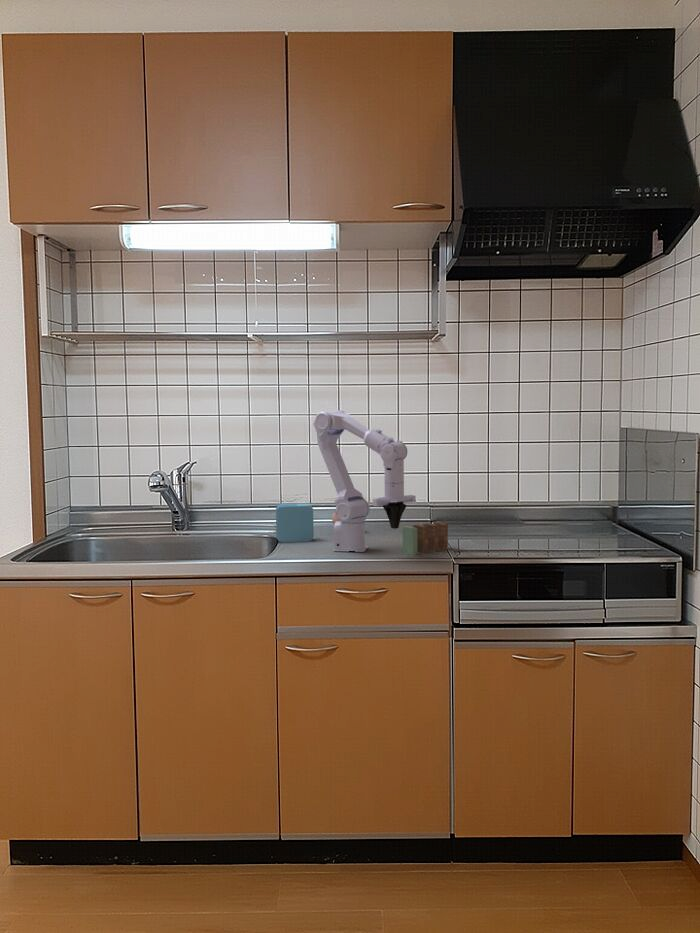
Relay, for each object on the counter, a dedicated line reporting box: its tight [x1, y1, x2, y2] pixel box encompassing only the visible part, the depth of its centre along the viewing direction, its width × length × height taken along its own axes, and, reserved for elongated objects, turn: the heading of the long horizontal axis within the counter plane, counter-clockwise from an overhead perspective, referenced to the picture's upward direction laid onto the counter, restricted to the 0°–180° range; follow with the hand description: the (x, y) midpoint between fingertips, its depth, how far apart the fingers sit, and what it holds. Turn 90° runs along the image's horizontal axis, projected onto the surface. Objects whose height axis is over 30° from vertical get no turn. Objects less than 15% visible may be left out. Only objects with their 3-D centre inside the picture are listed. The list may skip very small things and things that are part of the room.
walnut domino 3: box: [432, 521, 449, 551], centre depth 246 cm, size 2×5×8 cm, turn 34°
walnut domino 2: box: [422, 522, 439, 553], centre depth 244 cm, size 2×5×8 cm, turn 34°
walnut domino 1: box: [412, 524, 429, 554], centre depth 242 cm, size 2×5×8 cm, turn 34°
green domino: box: [402, 525, 418, 556], centre depth 239 cm, size 2×5×8 cm, turn 34°
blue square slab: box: [275, 503, 315, 543], centre depth 262 cm, size 12×4×12 cm, turn 99°
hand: (394, 528), depth 236 cm, fingers closed
